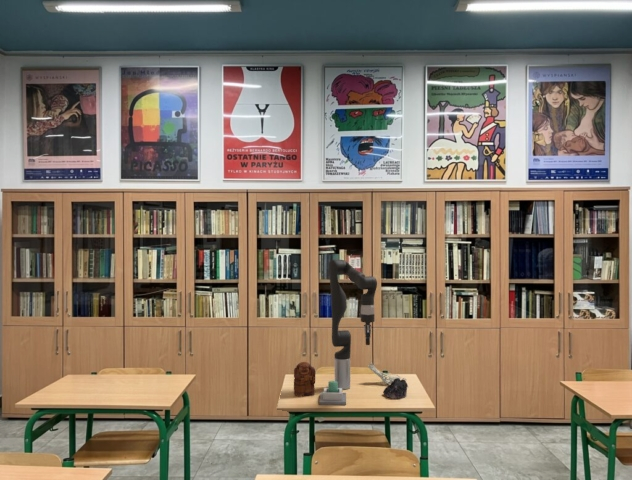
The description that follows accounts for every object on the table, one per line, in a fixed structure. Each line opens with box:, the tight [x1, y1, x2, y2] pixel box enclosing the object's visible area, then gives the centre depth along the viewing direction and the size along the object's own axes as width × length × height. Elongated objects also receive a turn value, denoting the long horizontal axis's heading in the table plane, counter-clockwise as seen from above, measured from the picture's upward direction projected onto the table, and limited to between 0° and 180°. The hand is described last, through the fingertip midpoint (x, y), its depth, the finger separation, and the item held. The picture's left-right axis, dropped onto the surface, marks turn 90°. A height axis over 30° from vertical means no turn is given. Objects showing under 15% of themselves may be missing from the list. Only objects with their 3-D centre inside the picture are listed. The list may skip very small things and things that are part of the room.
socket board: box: [318, 387, 347, 406], centre depth 266 cm, size 17×14×5 cm
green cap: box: [327, 380, 338, 393], centre depth 266 cm, size 5×5×8 cm
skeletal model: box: [367, 362, 409, 388], centre depth 298 cm, size 16×9×25 cm
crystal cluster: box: [382, 378, 409, 400], centre depth 273 cm, size 13×14×10 cm
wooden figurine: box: [293, 361, 316, 397], centre depth 276 cm, size 12×6×18 cm, turn 100°
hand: (367, 344), depth 269 cm, fingers closed
